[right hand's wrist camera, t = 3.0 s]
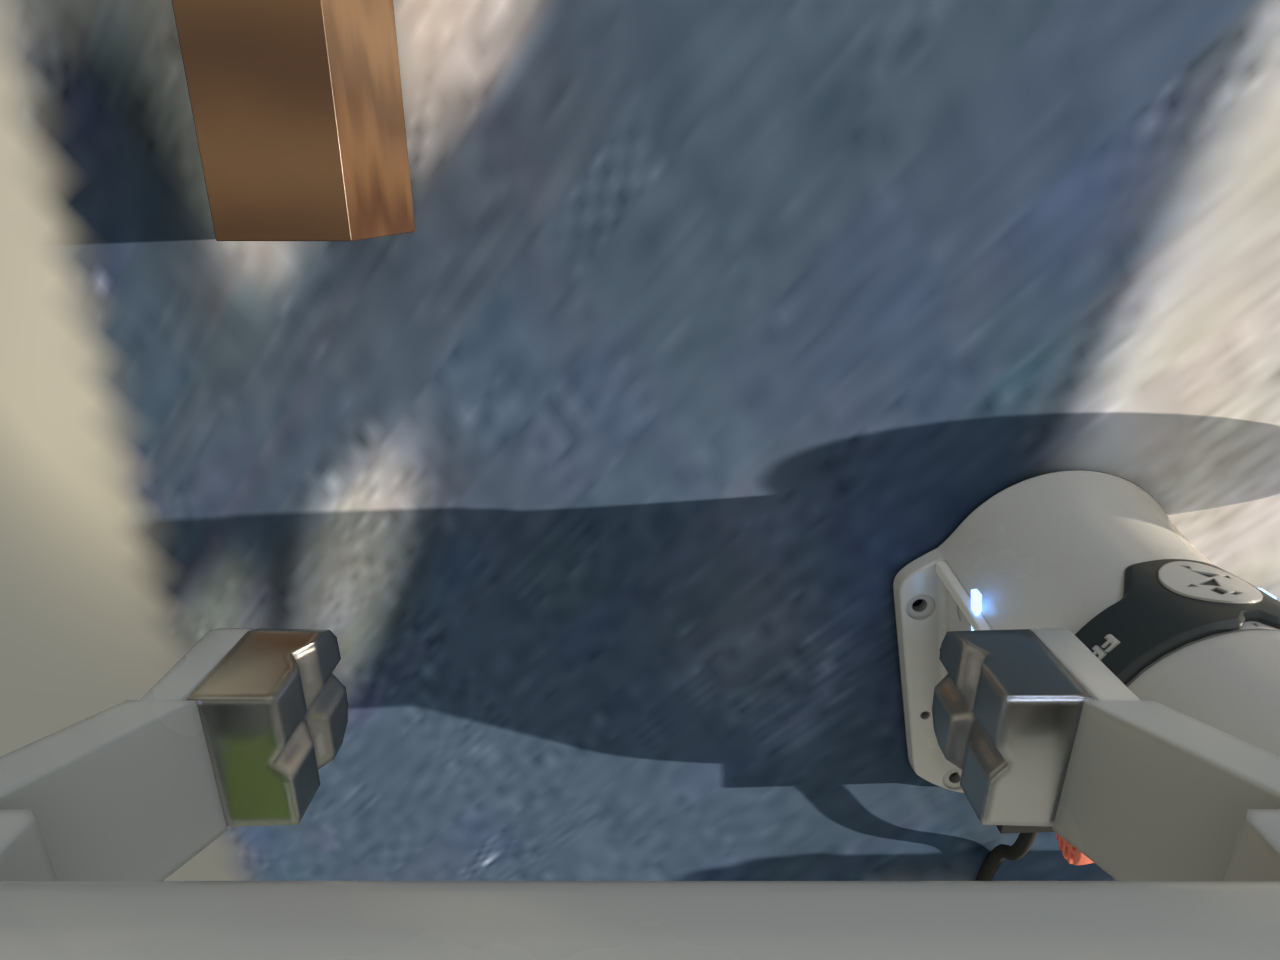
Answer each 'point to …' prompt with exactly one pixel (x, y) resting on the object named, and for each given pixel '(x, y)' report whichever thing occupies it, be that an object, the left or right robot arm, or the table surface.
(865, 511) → the table surface
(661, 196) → the table surface
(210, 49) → the bar
